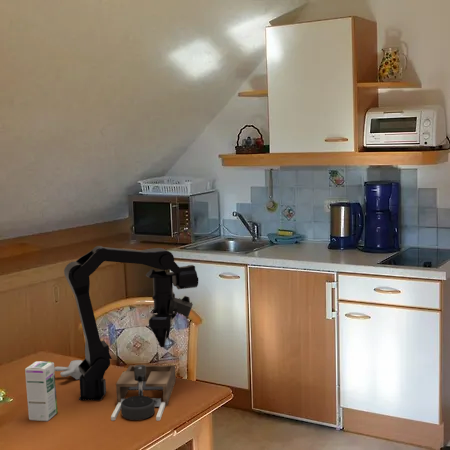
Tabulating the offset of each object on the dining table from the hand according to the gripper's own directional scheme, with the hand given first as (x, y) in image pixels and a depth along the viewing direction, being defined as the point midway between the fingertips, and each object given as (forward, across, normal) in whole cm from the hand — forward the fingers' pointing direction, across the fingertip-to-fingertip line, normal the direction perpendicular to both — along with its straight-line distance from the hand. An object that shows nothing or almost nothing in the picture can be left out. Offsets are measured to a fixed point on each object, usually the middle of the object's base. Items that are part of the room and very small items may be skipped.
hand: (164, 342), depth 205 cm
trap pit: (+13, -2, +4) cm, 14 cm away
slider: (+13, -17, +4) cm, 22 cm away
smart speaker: (+13, -22, +4) cm, 26 cm away
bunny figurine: (+13, +7, +28) cm, 32 cm away
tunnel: (+13, -7, +4) cm, 15 cm away
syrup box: (+13, -24, +30) cm, 41 cm away
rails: (+13, -21, +5) cm, 26 cm away
